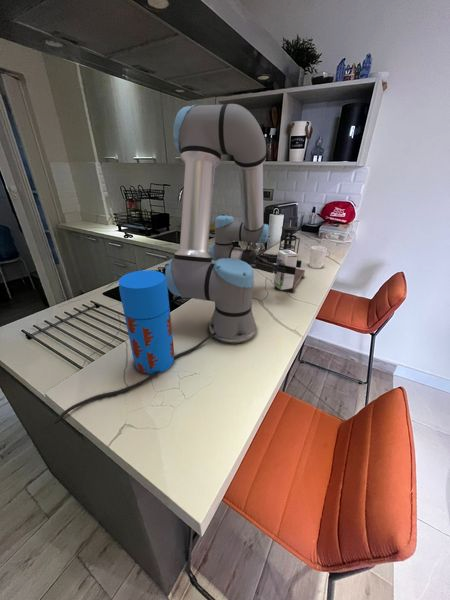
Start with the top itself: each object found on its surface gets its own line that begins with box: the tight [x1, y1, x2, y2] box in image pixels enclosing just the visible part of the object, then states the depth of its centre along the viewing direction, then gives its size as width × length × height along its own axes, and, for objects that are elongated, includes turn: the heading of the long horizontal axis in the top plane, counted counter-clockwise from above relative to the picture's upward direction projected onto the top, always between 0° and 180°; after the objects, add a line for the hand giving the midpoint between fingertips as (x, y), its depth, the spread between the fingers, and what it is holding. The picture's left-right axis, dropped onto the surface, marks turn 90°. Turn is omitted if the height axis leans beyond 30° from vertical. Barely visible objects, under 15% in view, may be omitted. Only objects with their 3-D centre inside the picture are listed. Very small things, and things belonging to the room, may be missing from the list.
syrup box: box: [273, 249, 299, 291], centre depth 100 cm, size 6×6×14 cm
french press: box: [278, 215, 301, 254], centre depth 146 cm, size 12×9×23 cm
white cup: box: [309, 245, 328, 269], centre depth 136 cm, size 8×8×10 cm
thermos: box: [118, 269, 175, 375], centre depth 66 cm, size 11×11×25 cm
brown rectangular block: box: [274, 268, 306, 294], centre depth 118 cm, size 20×8×4 cm, turn 151°
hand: (298, 267), depth 98 cm, fingers closed on syrup box, 8 cm apart
